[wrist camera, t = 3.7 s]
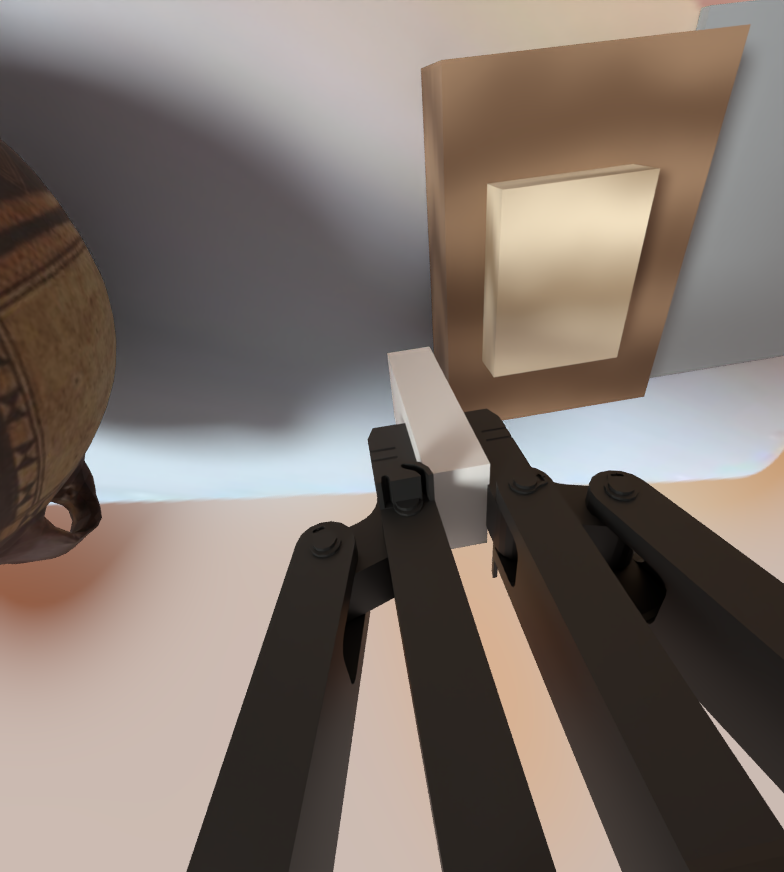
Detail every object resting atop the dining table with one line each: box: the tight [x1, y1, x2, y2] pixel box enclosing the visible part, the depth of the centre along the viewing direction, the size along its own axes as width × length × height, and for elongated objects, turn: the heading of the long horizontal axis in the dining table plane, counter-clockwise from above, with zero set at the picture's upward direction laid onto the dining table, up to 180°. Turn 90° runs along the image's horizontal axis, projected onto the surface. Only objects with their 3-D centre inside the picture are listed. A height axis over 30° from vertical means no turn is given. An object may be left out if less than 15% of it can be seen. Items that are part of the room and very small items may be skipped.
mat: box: [649, 0, 784, 378], centre depth 27 cm, size 20×13×1 cm, turn 6°
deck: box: [421, 24, 751, 420], centre depth 25 cm, size 18×13×4 cm
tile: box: [482, 164, 660, 377], centre depth 22 cm, size 9×7×2 cm
